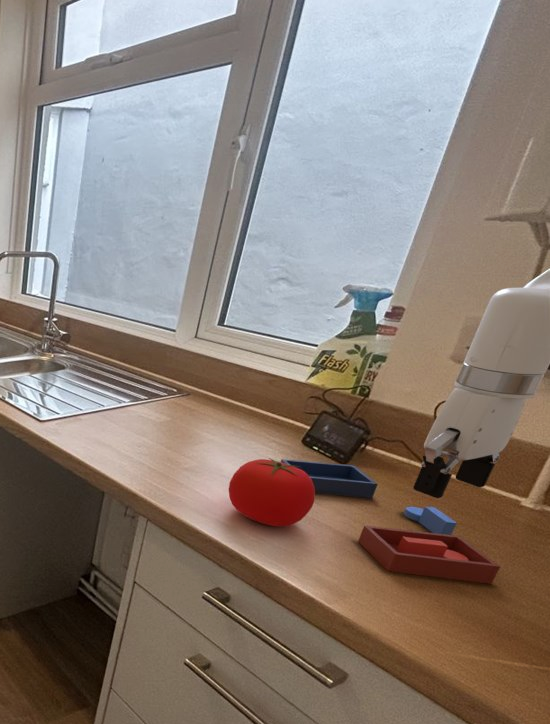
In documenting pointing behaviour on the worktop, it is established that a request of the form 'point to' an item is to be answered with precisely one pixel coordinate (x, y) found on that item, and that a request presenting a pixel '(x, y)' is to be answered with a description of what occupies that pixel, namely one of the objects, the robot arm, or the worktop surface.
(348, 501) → the worktop surface
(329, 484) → the blue tub
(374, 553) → the red tub
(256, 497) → the tomato
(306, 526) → the worktop surface
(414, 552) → the red stepped block
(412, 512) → the blue stepped block
